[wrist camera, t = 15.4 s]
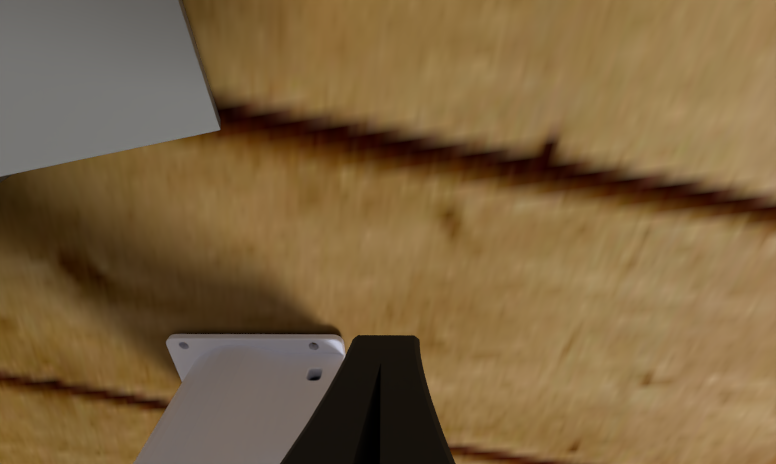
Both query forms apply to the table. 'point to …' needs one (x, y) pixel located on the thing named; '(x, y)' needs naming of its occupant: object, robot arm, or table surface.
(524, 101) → the table surface
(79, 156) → the gray domino
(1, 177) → the grey domino block
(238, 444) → the robot arm
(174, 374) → the table surface
